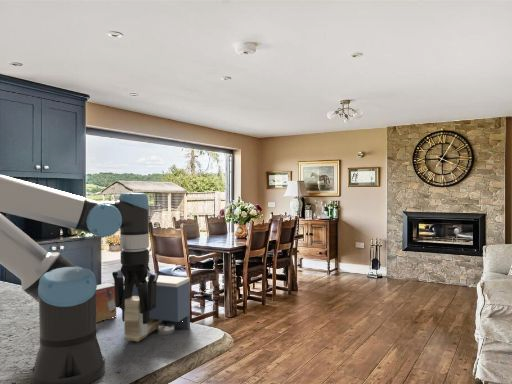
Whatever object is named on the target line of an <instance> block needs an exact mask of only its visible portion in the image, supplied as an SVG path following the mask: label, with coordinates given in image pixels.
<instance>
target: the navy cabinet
mask: <svg viewBox="0 0 512 384" xmlns="http://www.w3.org/2000/svg"><path fill="white" fill-rule="evenodd" d="M147 278H148V276H147V277H146V281H147V285H146V287H147V293H148V280H147ZM190 279H191V277H186V276H185V277H183V276H172V275H161V274H160V275H159V276H158V279H157V285H156V308H154V309H153V310H151V311H149V320H150V319H159V320H162V322H165V321H171V322H174V323H175V329H182V330H190V328H191V296H190V295H191V291H190V290H191V287H190V286H191V285H190V282H191V281H190ZM140 284H141V283H140ZM132 296H139V294H138V289H137V288H136V285H135V284H134V286H133V291H132ZM182 321H183V322H182Z"/></svg>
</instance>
